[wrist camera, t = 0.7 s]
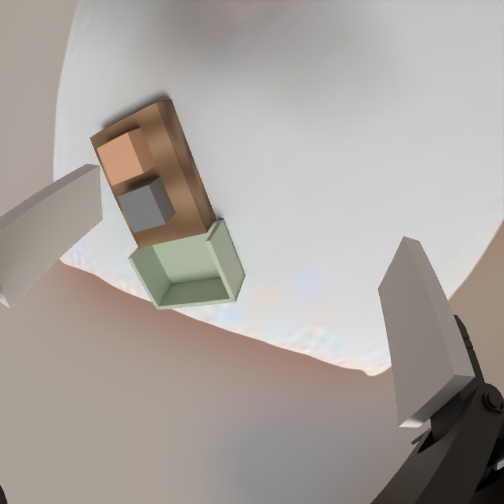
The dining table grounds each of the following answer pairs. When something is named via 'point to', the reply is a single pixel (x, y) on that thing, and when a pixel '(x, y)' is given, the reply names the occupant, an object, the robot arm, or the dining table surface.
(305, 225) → the dining table surface
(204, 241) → the tray
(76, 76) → the dining table surface
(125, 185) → the walnut board
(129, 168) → the peach square block
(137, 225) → the grey square block
